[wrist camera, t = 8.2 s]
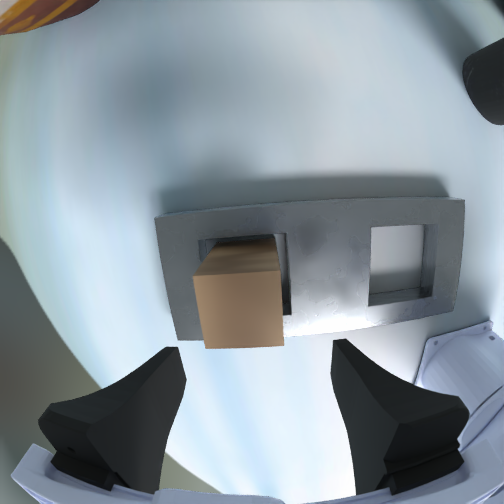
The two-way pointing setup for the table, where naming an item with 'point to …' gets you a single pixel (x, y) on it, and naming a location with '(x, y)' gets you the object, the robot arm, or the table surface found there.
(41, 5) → the jug
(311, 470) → the table surface
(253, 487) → the table surface
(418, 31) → the table surface
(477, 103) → the travel mug
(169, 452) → the table surface
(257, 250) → the walnut peg
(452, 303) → the grey slotted board
